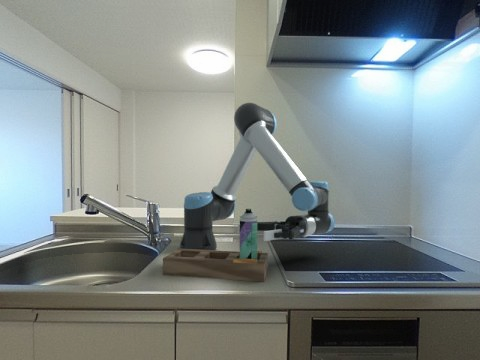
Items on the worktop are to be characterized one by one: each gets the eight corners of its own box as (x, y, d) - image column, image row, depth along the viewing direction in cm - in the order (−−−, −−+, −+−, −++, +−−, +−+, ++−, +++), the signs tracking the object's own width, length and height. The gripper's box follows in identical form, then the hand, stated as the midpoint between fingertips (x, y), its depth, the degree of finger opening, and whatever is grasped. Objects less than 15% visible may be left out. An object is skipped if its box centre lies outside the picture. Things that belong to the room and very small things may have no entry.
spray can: (246, 269, 89) (246, 207, 89) (260, 273, 85) (260, 208, 85) (235, 273, 85) (236, 208, 85) (250, 277, 81) (250, 210, 81)
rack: (178, 262, 96) (178, 247, 96) (267, 268, 90) (267, 251, 90) (162, 274, 84) (162, 256, 84) (264, 281, 78) (264, 262, 78)
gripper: (328, 243, 86) (277, 253, 74) (275, 231, 107) (229, 237, 95) (328, 219, 86) (277, 226, 74) (275, 212, 107) (229, 216, 95)
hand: (250, 232), depth 85 cm, fingers open, 13 cm apart
